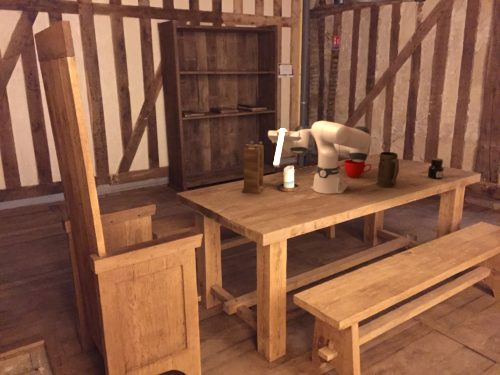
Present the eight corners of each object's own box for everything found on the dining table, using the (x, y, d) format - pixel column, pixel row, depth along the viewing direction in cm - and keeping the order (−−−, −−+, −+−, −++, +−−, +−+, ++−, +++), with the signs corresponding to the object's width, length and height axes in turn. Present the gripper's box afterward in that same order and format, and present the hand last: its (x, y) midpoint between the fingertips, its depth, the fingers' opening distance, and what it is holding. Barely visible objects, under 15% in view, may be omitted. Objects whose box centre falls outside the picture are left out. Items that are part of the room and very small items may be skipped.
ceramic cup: (370, 180, 274) (372, 164, 271) (343, 178, 277) (344, 163, 274) (369, 175, 286) (370, 160, 283) (343, 174, 289) (344, 159, 286)
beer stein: (371, 184, 265) (376, 151, 258) (385, 181, 270) (389, 150, 263) (390, 192, 252) (395, 158, 246) (403, 189, 257) (409, 156, 250)
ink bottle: (440, 180, 275) (442, 161, 272) (425, 178, 280) (427, 159, 277) (444, 177, 283) (446, 158, 279) (430, 175, 288) (432, 157, 284)
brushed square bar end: (281, 131, 272) (280, 128, 269) (285, 131, 271) (285, 128, 269) (274, 167, 260) (273, 164, 258) (279, 167, 260) (278, 164, 257)
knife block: (248, 186, 258) (248, 141, 251) (264, 187, 256) (265, 141, 248) (242, 192, 246) (242, 144, 239) (259, 193, 243) (259, 145, 236)
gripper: (301, 144, 278) (298, 136, 265) (269, 142, 283) (265, 134, 270) (302, 135, 279) (299, 126, 266) (271, 133, 285) (267, 125, 272)
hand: (282, 130), depth 268 cm, fingers closed on brushed square bar end, 3 cm apart
